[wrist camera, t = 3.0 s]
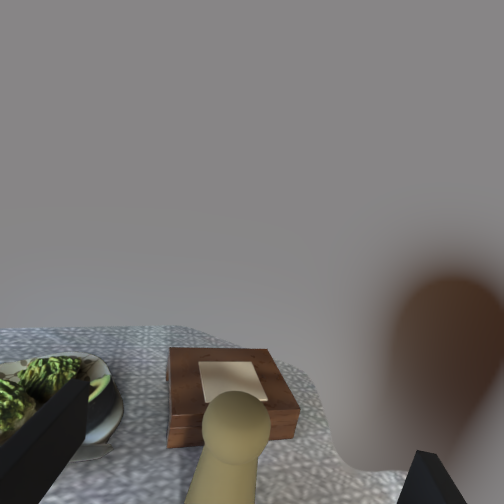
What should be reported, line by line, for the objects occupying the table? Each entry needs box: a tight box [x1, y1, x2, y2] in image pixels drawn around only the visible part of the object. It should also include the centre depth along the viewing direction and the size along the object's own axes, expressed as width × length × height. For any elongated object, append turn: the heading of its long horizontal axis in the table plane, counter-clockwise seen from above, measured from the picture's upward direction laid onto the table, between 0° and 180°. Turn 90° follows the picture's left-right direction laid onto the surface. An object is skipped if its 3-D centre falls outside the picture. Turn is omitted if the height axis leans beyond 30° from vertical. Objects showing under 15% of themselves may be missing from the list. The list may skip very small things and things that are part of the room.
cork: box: [184, 391, 271, 504], centre depth 24 cm, size 6×6×11 cm
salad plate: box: [0, 352, 124, 463], centre depth 30 cm, size 19×18×5 cm
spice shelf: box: [166, 347, 301, 448], centre depth 38 cm, size 12×14×4 cm
